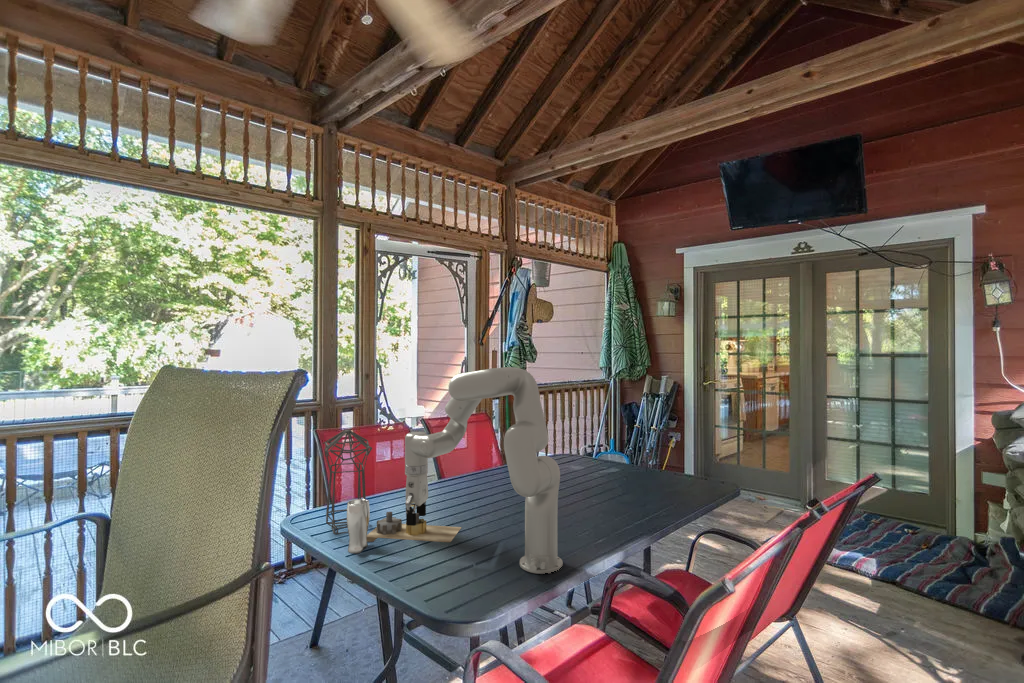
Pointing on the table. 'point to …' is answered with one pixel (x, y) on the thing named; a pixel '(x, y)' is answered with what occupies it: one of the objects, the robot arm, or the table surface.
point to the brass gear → (417, 528)
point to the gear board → (397, 530)
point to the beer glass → (358, 524)
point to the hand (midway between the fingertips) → (416, 520)
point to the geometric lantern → (337, 438)
